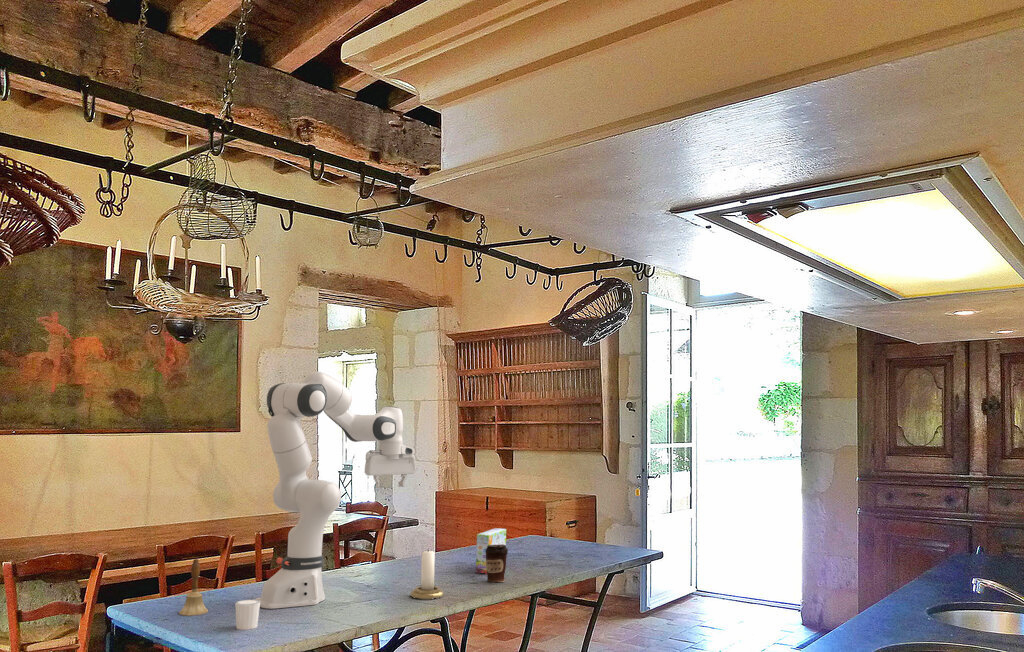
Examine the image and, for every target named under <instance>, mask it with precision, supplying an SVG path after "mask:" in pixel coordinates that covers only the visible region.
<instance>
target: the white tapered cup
mask: <svg viewBox="0 0 1024 652" xmlns="http://www.w3.org/2000/svg"><path fill="white" fill-rule="evenodd" d="M234 605H235V607H234V608H235V625H236V627H235V628H236V630H241V631H244V630H245V631H246V630H253V629H256V628H257V627H258V623H259V616H260V615H259V614H260V608H261V607H260V601H259V600H255V599H243V600H242V599H241V600H237V601H236V602H235V604H234Z"/></svg>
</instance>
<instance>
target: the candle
mask: <svg viewBox="0 0 1024 652" xmlns="http://www.w3.org/2000/svg"><path fill="white" fill-rule="evenodd" d="M435 554H436V552H435V551H432V550H429V549H427V550H426V551H425V550H423V551H421V562H420V563H421V566H420V567H421V568H420V569H421V570H420V571H421V573H420V587H421V590H426V591H430V590H434V586H435V563H436V561H435V560H436V559H435V557H436V556H435Z"/></svg>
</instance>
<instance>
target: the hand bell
mask: <svg viewBox="0 0 1024 652" xmlns="http://www.w3.org/2000/svg"><path fill="white" fill-rule="evenodd" d="M200 573H201V565H200V561H199V559H198V558H195V559H193V561H192V564H191V568H190V575H191V580H192V582H191V583H192V584H191V586H192V587H191V592H189V593H188V594H187V595H186V599H185V603H184V605H183V607H182V608H181V610H180V611H179V613H178V614H179V615H180V616H183V617H192V616H193V617H195V616H201V615H205V614H208V612H209V610H208V608H206V605H205V604H204V599H203V593H200V592H199V587H198V586H199V585H198V584H199V578H200Z"/></svg>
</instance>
